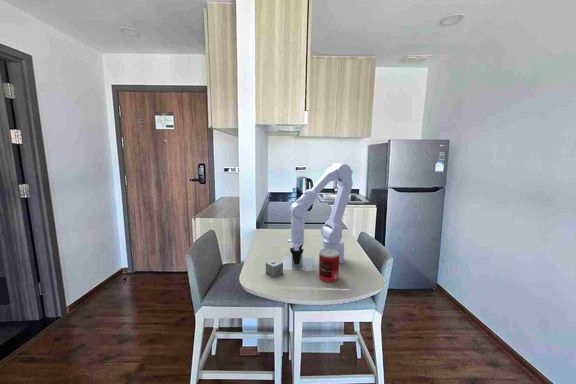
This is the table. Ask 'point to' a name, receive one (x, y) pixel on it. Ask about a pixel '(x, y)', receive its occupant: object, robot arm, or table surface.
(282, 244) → the table surface
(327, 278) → the canned food
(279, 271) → the dice cube
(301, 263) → the sage brick
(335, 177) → the robot arm
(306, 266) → the plate
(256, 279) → the table surface
